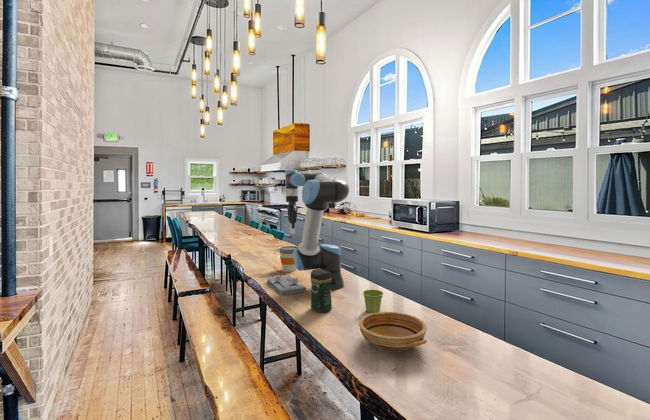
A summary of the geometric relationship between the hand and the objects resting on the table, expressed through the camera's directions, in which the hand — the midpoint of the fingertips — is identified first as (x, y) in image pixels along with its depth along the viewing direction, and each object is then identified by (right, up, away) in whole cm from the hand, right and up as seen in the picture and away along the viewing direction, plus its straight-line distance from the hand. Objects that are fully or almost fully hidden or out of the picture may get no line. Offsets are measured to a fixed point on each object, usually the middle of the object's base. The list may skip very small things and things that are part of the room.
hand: (292, 233), depth 223 cm
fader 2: (+3, -26, -24) cm, 36 cm away
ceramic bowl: (+44, -35, -93) cm, 109 cm away
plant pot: (+42, -32, -60) cm, 80 cm away
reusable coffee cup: (-3, -26, +15) cm, 30 cm away
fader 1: (-7, -26, -19) cm, 33 cm away
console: (-2, -29, -21) cm, 35 cm away
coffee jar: (+18, -32, -57) cm, 68 cm away
